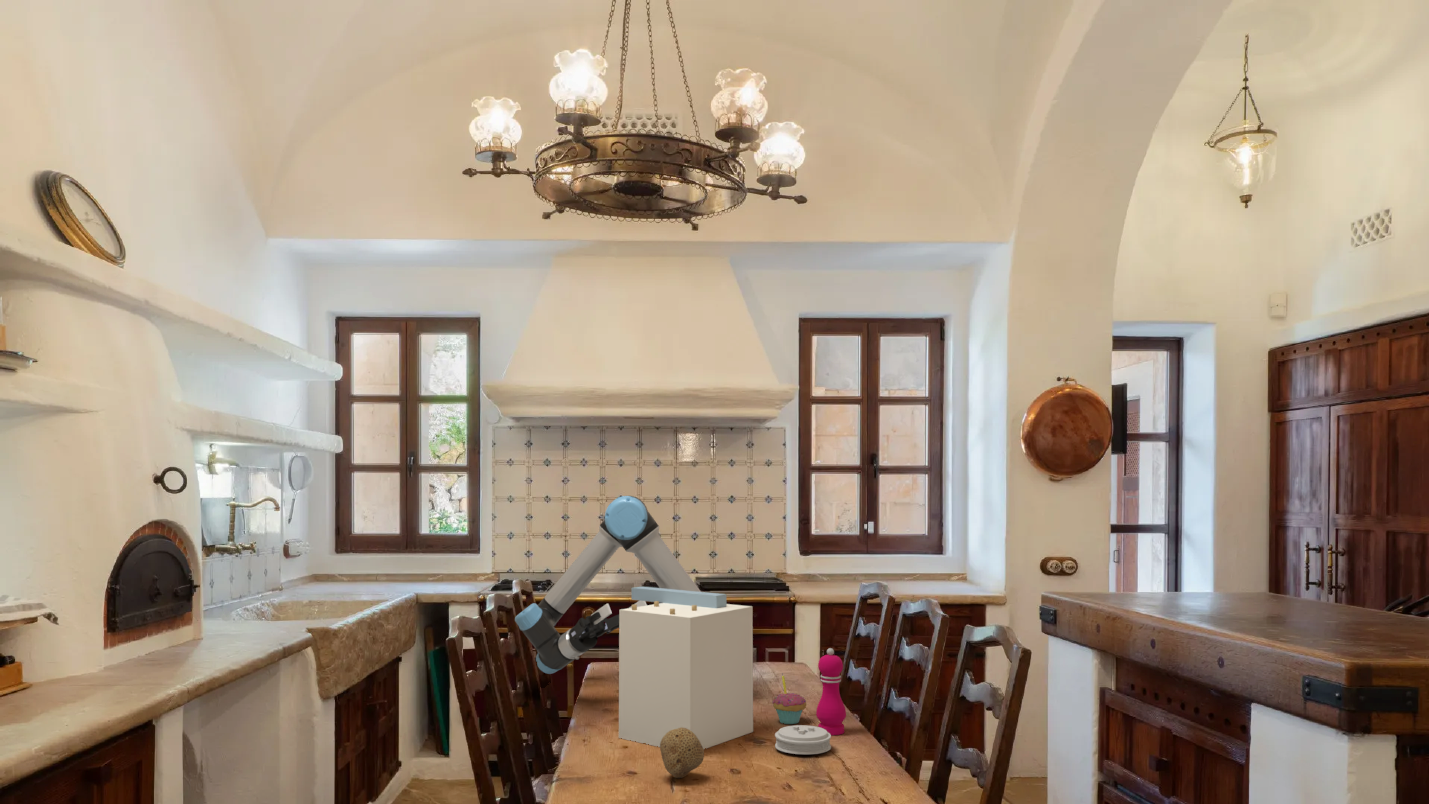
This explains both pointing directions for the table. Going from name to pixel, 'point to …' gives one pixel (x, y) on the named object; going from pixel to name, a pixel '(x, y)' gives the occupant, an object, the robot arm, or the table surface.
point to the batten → (679, 597)
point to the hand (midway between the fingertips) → (627, 605)
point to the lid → (802, 739)
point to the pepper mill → (831, 695)
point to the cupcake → (789, 706)
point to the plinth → (685, 672)
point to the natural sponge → (681, 752)
